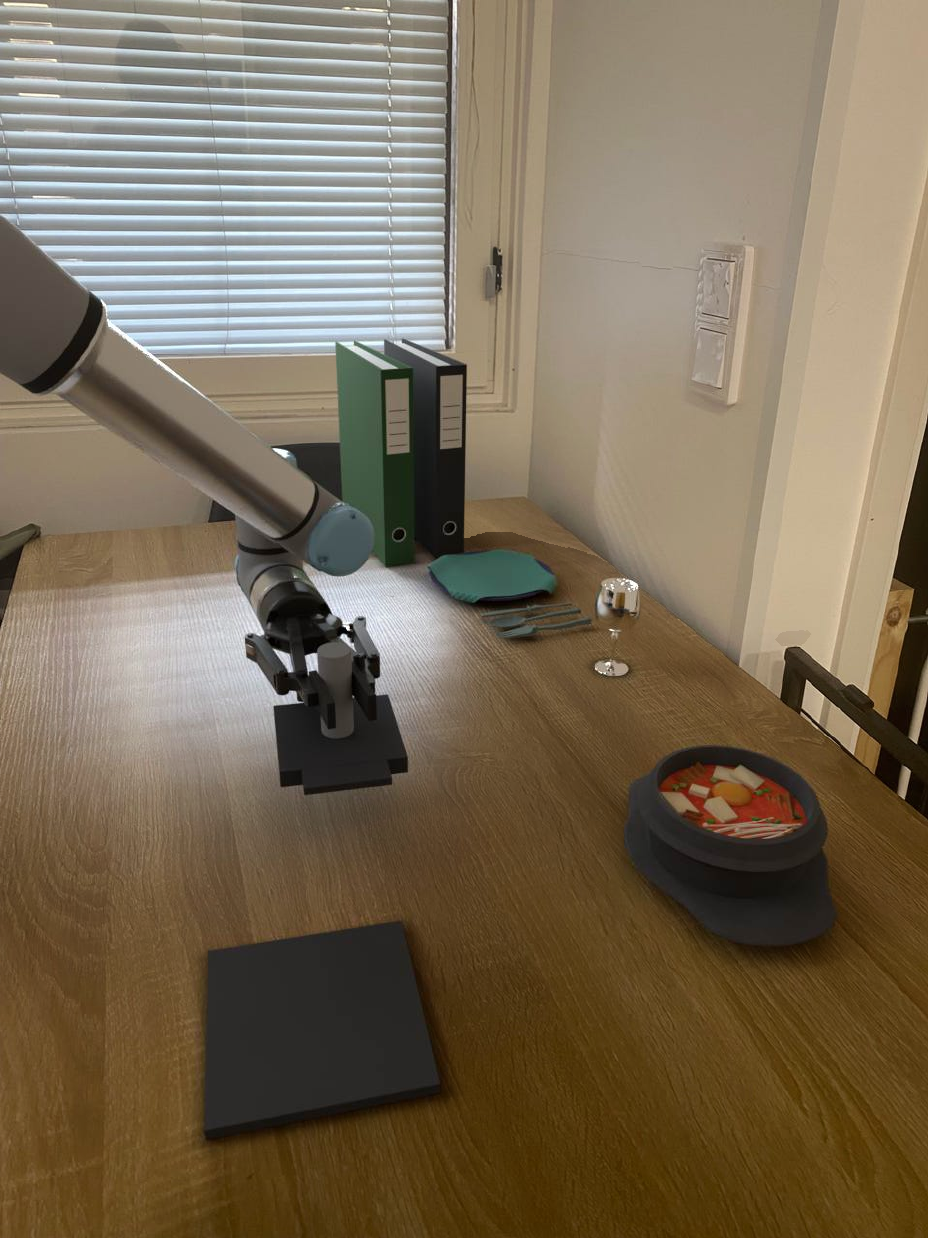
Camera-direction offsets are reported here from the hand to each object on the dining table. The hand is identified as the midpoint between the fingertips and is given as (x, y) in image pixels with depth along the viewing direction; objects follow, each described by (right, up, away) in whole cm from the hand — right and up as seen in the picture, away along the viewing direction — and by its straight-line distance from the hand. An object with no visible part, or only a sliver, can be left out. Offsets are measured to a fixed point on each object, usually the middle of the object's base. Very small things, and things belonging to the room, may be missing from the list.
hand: (352, 711), depth 83 cm
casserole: (+35, -15, +3) cm, 38 cm away
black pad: (-1, -22, -14) cm, 26 cm away
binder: (-1, +24, +81) cm, 85 cm away
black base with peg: (-2, -5, +6) cm, 8 cm away
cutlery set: (+16, +12, +57) cm, 61 cm away
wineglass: (+30, +2, +37) cm, 48 cm away
